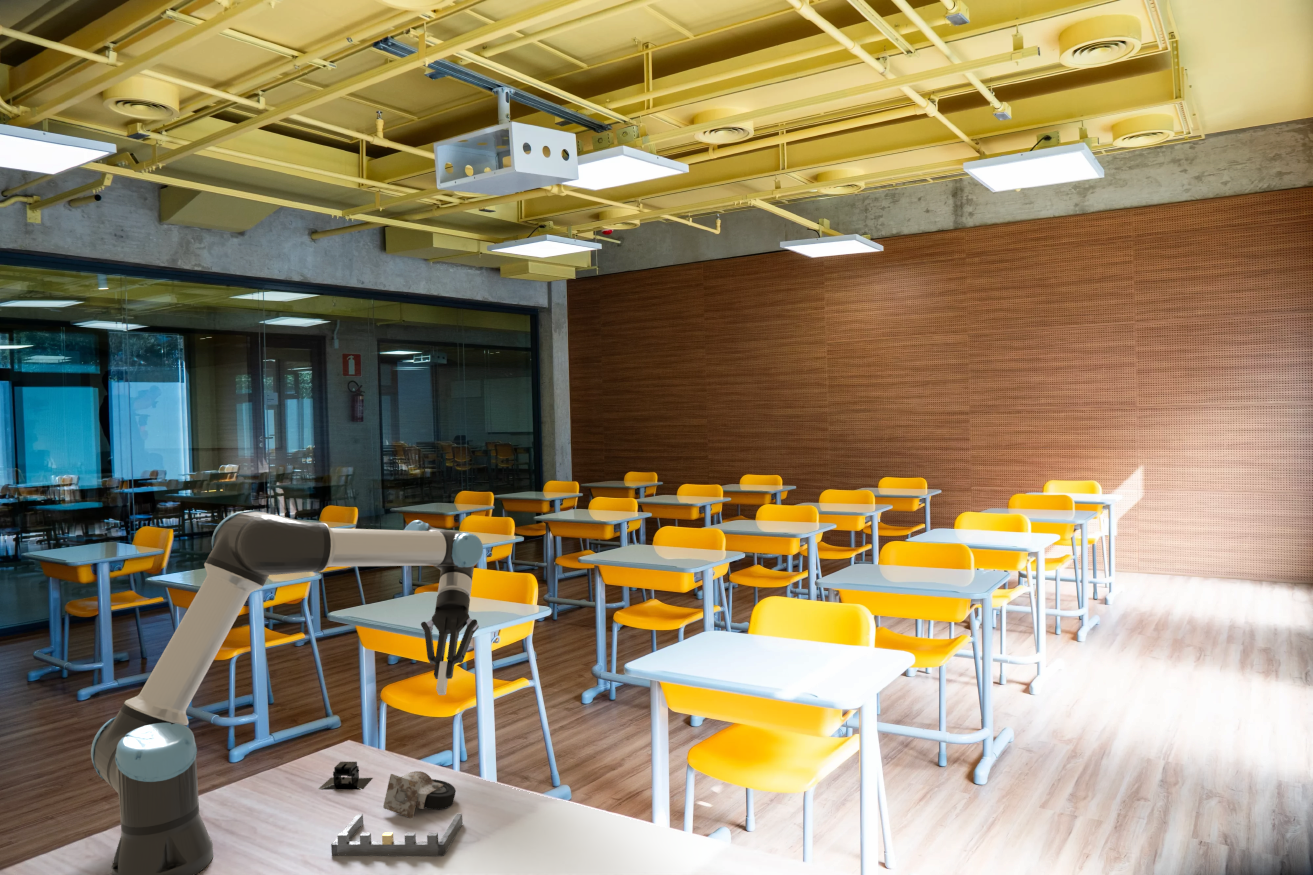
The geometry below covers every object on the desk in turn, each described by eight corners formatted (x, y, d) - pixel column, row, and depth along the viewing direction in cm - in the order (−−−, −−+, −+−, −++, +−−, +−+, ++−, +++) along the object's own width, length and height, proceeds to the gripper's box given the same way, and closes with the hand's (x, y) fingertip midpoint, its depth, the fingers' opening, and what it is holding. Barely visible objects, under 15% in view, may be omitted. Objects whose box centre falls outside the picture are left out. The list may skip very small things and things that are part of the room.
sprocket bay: (331, 855, 148) (330, 835, 148) (358, 823, 159) (357, 805, 159) (443, 855, 147) (442, 835, 146) (462, 823, 158) (461, 804, 157)
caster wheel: (458, 810, 168) (432, 827, 159) (409, 792, 172) (381, 808, 162) (465, 777, 169) (440, 792, 159) (417, 760, 172) (389, 774, 162)
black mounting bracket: (309, 793, 174) (308, 771, 174) (326, 777, 181) (325, 756, 181) (368, 793, 173) (367, 771, 173) (382, 777, 180) (381, 756, 180)
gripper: (484, 603, 200) (474, 698, 184) (429, 606, 200) (414, 701, 184) (479, 586, 195) (468, 682, 179) (422, 589, 194) (406, 685, 179)
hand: (441, 691), depth 182 cm, fingers closed
